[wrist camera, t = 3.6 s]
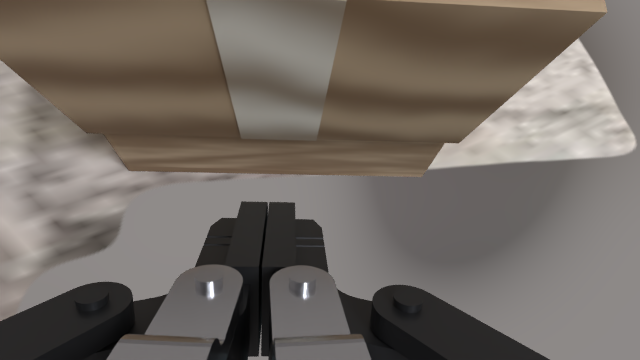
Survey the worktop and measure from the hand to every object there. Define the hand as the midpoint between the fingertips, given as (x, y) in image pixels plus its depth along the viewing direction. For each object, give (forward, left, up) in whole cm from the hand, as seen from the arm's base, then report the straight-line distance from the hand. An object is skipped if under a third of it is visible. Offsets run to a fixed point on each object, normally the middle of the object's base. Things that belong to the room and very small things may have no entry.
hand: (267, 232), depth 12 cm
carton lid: (+9, +5, -6) cm, 12 cm away
